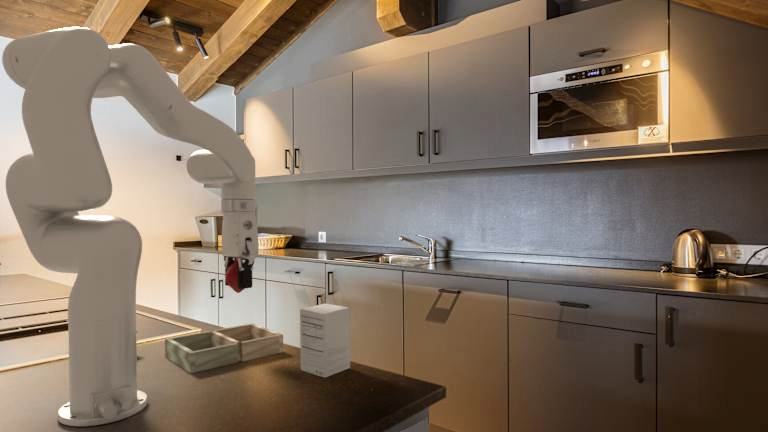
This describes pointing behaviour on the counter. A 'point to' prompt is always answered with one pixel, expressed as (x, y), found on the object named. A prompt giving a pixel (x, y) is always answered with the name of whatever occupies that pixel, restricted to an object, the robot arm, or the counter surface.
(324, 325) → the supplement box
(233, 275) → the onion
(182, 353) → the compartment tray
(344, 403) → the counter surface
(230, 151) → the robot arm
